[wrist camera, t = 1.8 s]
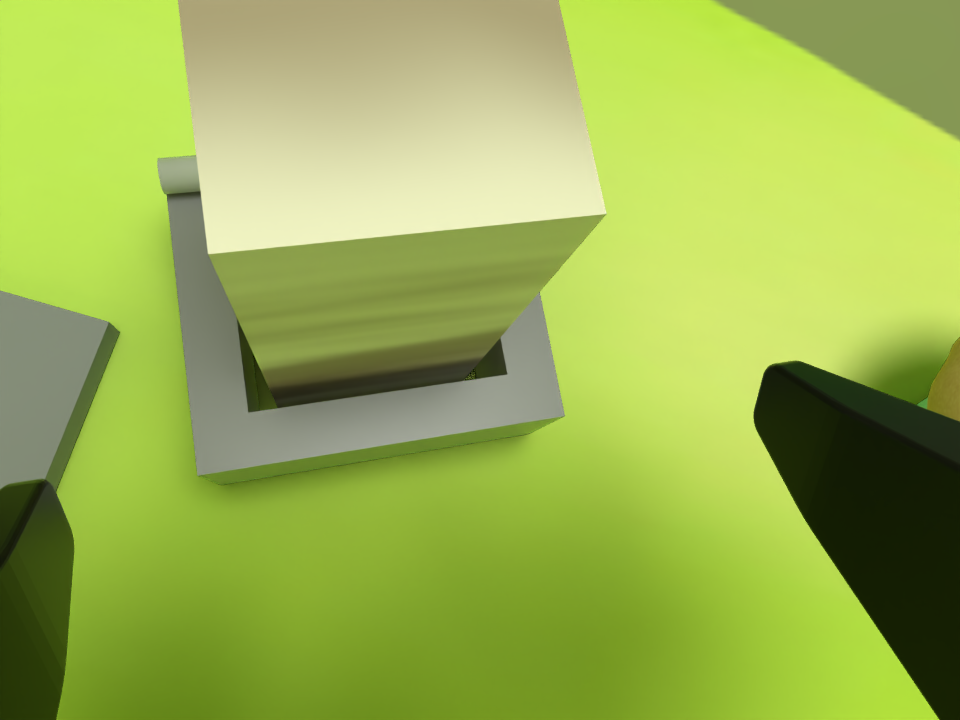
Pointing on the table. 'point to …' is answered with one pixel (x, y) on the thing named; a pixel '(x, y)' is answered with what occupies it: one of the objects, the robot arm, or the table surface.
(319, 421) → the dispenser sleeve
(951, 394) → the cupcake
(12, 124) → the table surface
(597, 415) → the table surface
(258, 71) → the cream square pillar
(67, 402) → the rubber mat
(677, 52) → the table surface
